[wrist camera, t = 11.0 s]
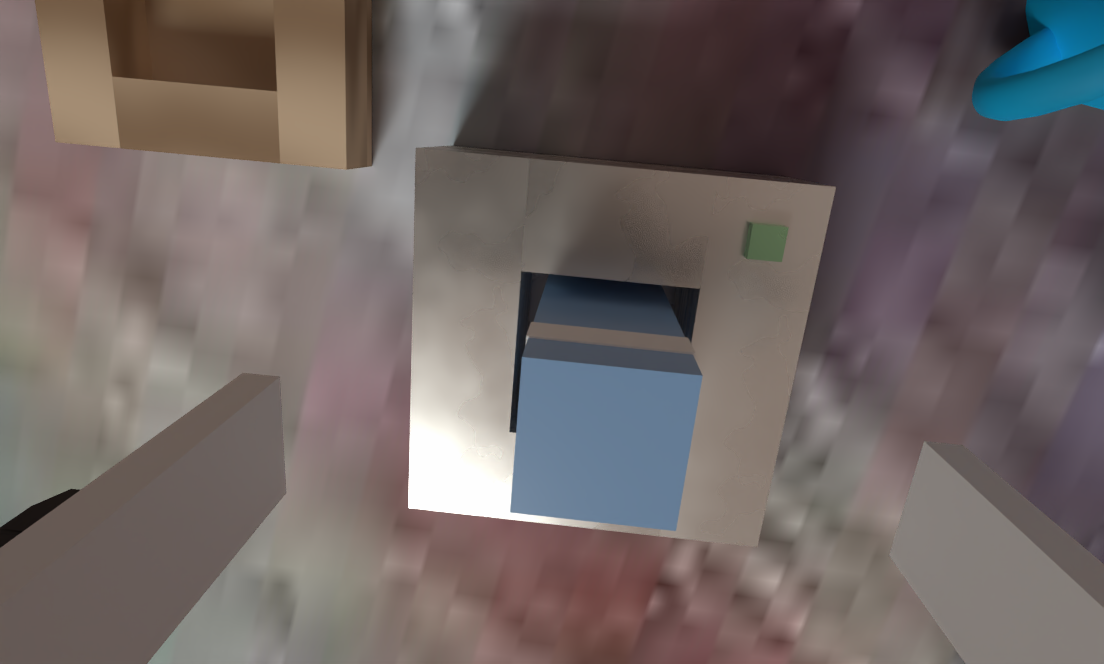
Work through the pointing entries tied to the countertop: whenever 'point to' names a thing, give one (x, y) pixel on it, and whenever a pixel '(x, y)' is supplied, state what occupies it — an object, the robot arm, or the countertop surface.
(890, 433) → the countertop surface
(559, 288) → the plug
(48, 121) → the countertop surface
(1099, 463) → the countertop surface
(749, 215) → the port block
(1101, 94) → the mug
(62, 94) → the tan flat square frame
